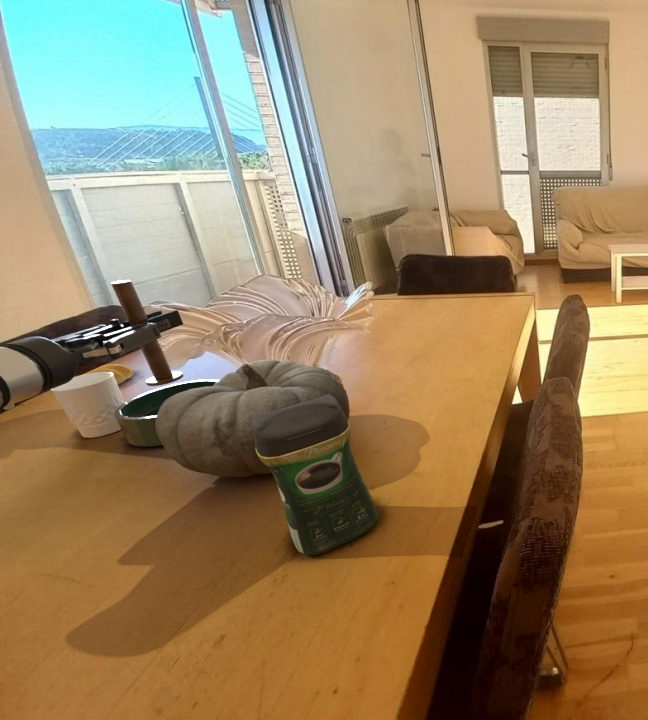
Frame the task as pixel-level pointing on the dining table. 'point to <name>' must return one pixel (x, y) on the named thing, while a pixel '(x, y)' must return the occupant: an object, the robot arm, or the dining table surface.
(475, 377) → the dining table surface
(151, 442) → the bowl
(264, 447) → the coffee jar
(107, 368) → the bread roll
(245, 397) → the gourd
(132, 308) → the stirring stick
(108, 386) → the white cup
